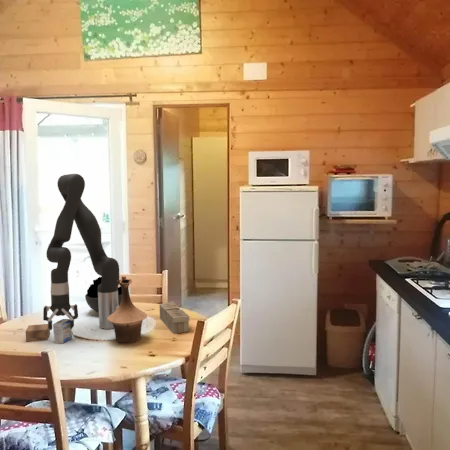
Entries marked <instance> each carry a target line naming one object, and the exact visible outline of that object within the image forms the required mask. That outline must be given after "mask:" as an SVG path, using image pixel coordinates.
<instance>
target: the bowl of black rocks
mask: <svg viewBox="0 0 450 450" xmlns="http://www.w3.org/2000/svg"><path fill="white" fill-rule="evenodd" d="M101 282H102V276H99V277H98V278H96V279H93V280H92V283H91V284H89V286H88V288H87V291H86V293H87V294H85V296H84V298H85V301H86V305H88V306H89V308H90V309H92V311H94V312H96V313H98V314H99V304H98V285H100V284H101ZM121 299H122V287H121V286H120V285H119V286H118V305H120V303H121Z"/></svg>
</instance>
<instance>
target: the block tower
mask: <svg viewBox="0 0 450 450" xmlns="http://www.w3.org/2000/svg"><path fill="white" fill-rule="evenodd" d="M158 305H159V320H161V321H162V323H163V324H164V326H166V327H167V329H168V330H169V331H170V332H171V333H172V334H181V333H185V332H186V333H187V332H189V331H190V327H189V325H190V324H189V322H190V315H188V314H187V313H186V312H185V311H184V310H183V309H181V308H180V306H178V305H177V304H176V303H175V301H168V302H163V303H159V304H158Z"/></svg>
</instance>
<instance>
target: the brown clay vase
mask: <svg viewBox="0 0 450 450" xmlns="http://www.w3.org/2000/svg"><path fill="white" fill-rule="evenodd" d="M117 281H118V283H119V287H120V286H121V287H122V299H121V303H120V305H119V307H118V308H117V310H116V311H115V312H114V313H113V314H111V315H110V316H109V317H108V318H107V319H108V321H110V322H112V324H113V327H114V328H113V332H114V335H115V341H116V343H117V344H123V345H126V344H127V345H129V344H130V345H131V344H135V343H137V342H139V341H141V339H142V336H141V335H142V325H143V321H144V320H146V319H147V317H148V314H147V313H146V312H145V311H143V310H141V309H140V308H138V307H137V306H135V304H134V303H133V301H132V299H131V297H130V289H129V288H130V287H129V286H130V284H132V283H133V280H132V279H130V278H127V277H126V275H121V279H119V280H117Z"/></svg>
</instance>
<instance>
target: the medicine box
mask: <svg viewBox="0 0 450 450" xmlns="http://www.w3.org/2000/svg"><path fill="white" fill-rule="evenodd" d="M52 330H53V342H54V343H55V344H65V343H67V341H69V340H71V339H72V338H73V328H72V329H70V319H69V318H61V319H60V320H58V321H57V322H54V323H52Z"/></svg>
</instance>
